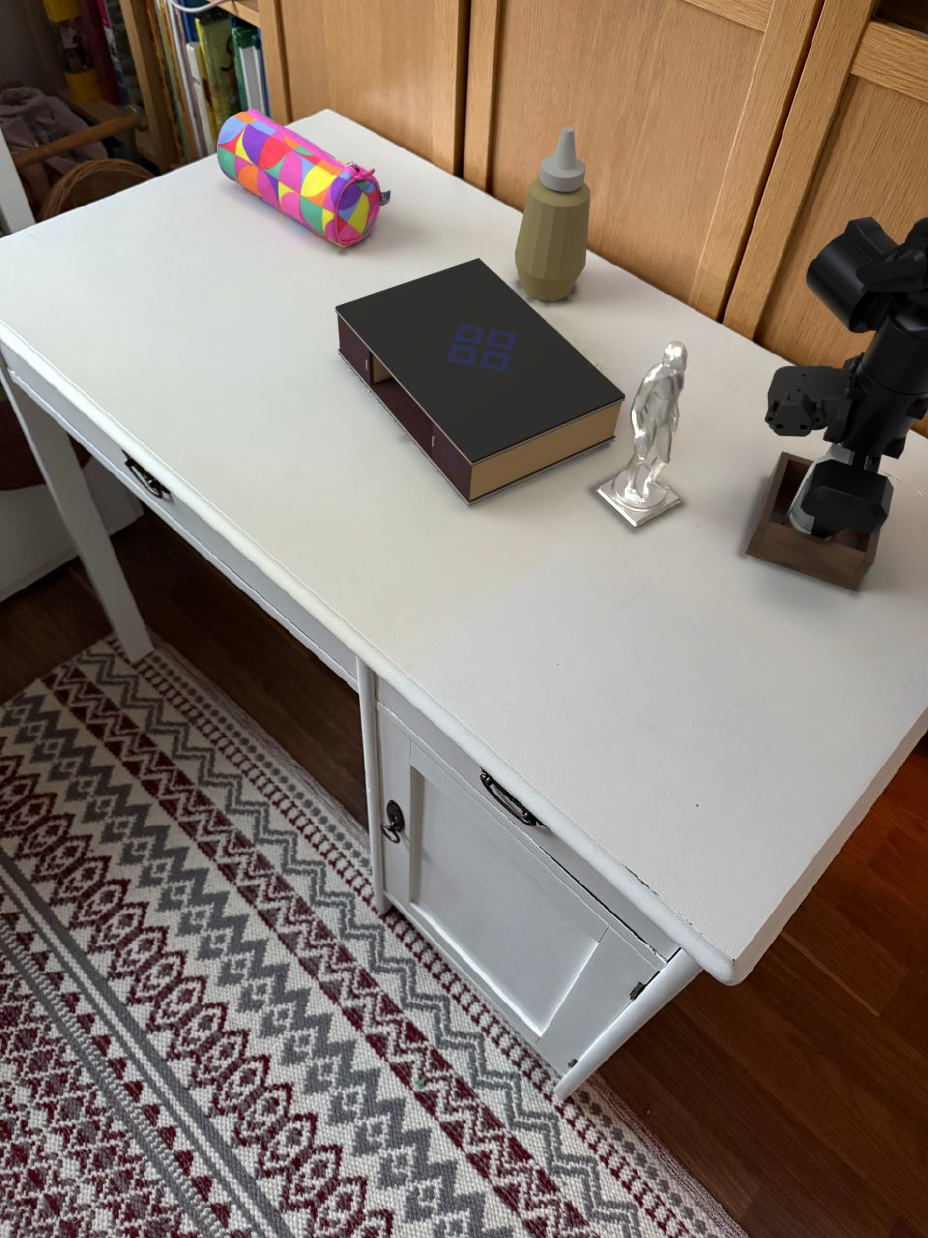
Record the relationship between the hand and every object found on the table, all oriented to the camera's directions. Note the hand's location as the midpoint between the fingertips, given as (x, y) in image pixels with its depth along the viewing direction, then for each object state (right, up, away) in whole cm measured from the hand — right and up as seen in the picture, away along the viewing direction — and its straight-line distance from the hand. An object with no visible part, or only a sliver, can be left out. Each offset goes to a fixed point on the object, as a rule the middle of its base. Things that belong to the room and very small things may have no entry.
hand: (823, 508), depth 82 cm
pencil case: (-52, +40, +30) cm, 72 cm away
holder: (0, -2, +3) cm, 4 cm away
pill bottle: (0, -2, +2) cm, 3 cm away
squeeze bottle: (-23, +28, +23) cm, 43 cm away
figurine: (-17, +1, +4) cm, 17 cm away
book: (-32, +12, +11) cm, 36 cm away
